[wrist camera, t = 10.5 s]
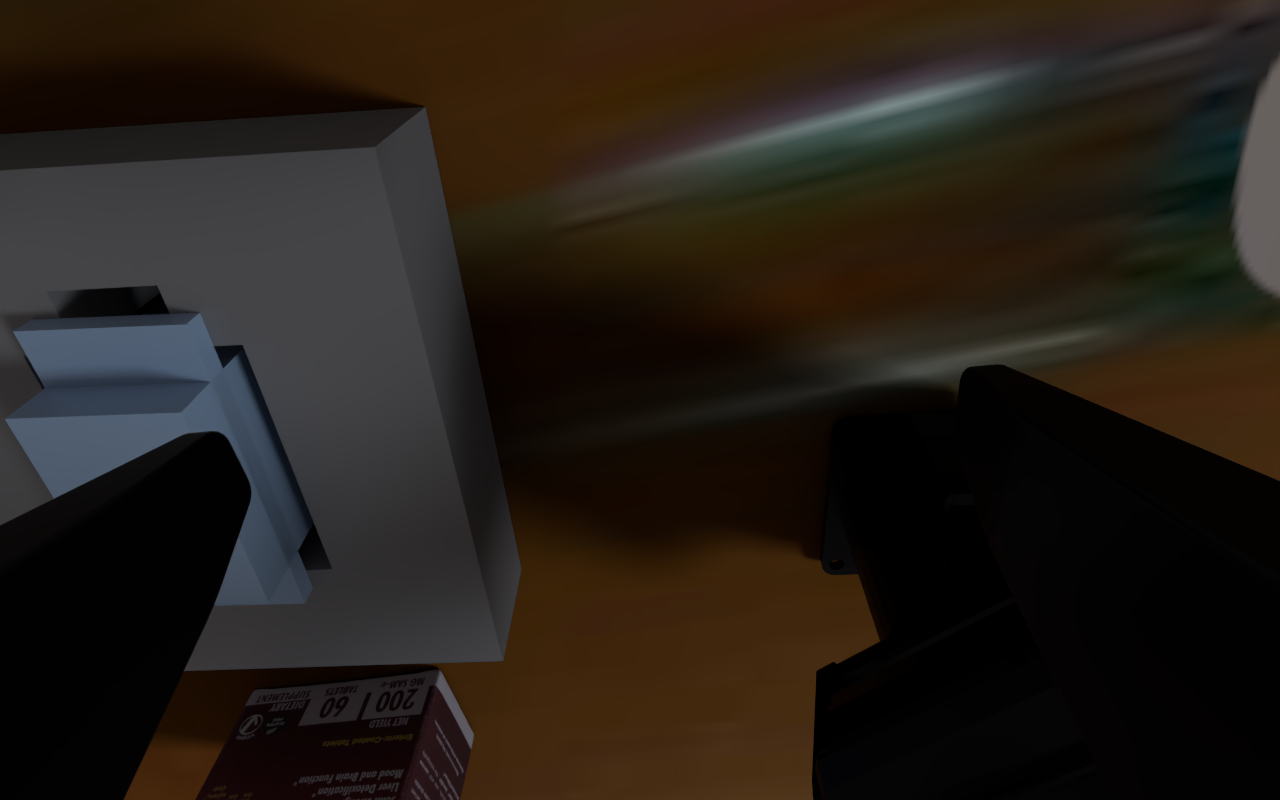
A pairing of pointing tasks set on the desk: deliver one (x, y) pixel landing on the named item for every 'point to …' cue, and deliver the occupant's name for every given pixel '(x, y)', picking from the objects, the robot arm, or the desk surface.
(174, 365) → the block
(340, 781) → the supplement box
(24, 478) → the chassis
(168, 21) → the desk surface
